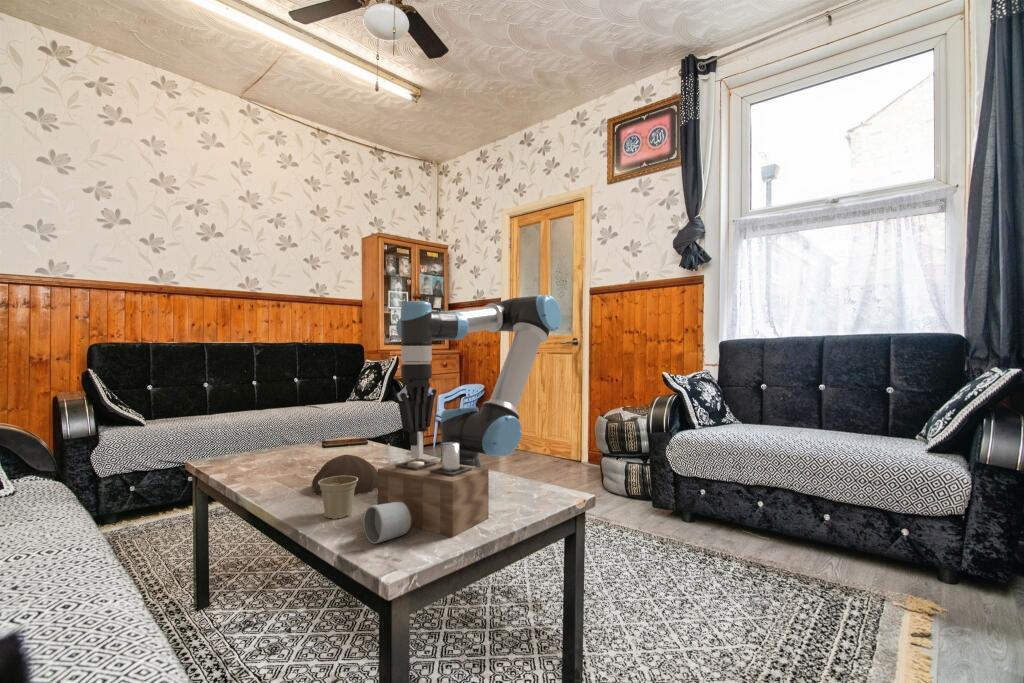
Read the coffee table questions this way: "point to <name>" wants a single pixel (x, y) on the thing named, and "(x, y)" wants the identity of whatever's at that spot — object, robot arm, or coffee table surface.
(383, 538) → the ceramic mug
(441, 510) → the walnut block
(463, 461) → the jar
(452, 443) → the peg steel
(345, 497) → the flower pot
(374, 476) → the decorative dome
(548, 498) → the coffee table surface
